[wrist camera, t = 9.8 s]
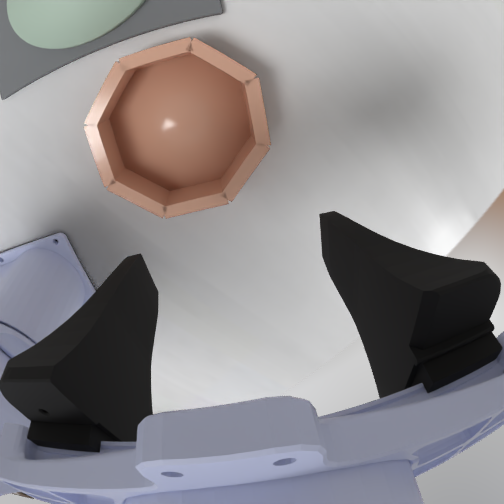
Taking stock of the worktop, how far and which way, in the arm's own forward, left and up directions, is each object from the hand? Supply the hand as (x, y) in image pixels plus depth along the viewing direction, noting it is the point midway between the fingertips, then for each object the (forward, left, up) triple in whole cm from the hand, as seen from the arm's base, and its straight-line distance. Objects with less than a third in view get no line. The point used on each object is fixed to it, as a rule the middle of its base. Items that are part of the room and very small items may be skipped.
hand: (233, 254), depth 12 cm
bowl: (-2, +4, -10) cm, 11 cm away
